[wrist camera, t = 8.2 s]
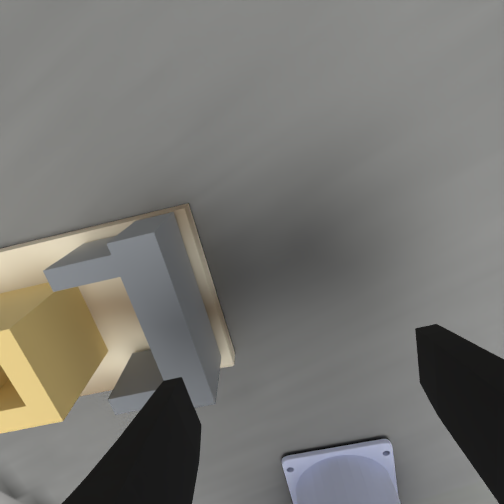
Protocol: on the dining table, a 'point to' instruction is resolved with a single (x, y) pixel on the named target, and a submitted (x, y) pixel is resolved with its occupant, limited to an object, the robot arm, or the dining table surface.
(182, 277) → the housing
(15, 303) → the block
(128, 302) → the base plate
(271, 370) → the dining table surface
